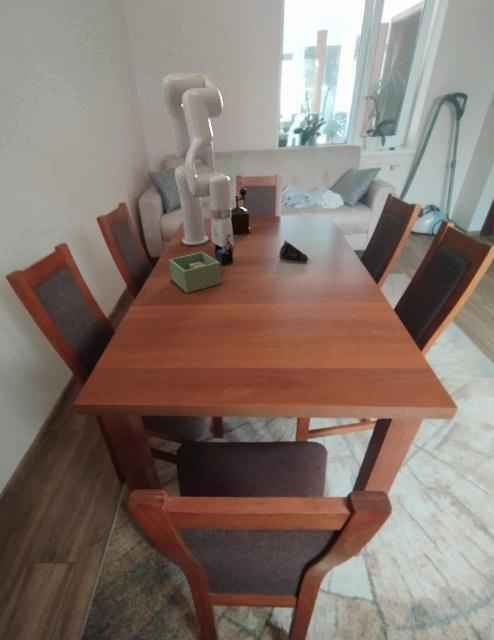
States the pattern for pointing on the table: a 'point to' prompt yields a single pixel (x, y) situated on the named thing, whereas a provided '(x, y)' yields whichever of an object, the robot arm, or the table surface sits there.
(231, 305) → the table surface
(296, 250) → the chocolate cake
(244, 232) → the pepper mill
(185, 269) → the bin
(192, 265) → the birch block
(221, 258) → the navy block
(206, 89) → the robot arm
